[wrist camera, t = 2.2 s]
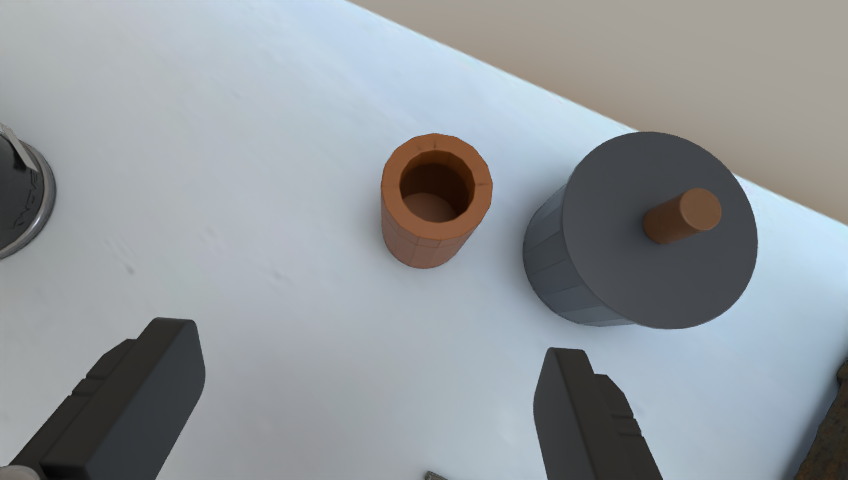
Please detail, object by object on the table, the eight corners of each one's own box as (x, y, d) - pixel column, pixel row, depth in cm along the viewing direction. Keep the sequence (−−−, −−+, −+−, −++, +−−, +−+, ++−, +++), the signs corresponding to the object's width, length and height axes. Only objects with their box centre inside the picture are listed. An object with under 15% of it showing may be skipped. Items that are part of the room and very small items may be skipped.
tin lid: (546, 312, 26) (579, 306, 22) (563, 124, 29) (595, 84, 24) (744, 343, 27) (816, 344, 22) (743, 156, 29) (807, 122, 25)
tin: (515, 314, 35) (560, 304, 26) (529, 179, 37) (574, 129, 28) (654, 335, 35) (744, 333, 26) (659, 201, 38) (743, 158, 29)
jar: (376, 261, 35) (372, 229, 25) (389, 184, 36) (391, 125, 26) (457, 274, 35) (485, 248, 25) (467, 197, 36) (498, 143, 27)
